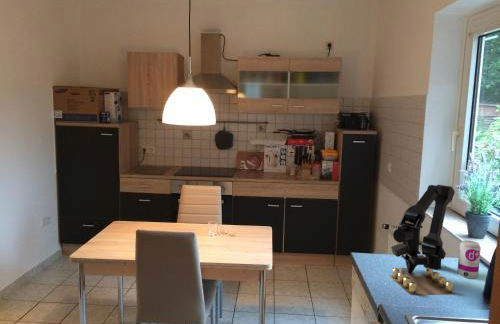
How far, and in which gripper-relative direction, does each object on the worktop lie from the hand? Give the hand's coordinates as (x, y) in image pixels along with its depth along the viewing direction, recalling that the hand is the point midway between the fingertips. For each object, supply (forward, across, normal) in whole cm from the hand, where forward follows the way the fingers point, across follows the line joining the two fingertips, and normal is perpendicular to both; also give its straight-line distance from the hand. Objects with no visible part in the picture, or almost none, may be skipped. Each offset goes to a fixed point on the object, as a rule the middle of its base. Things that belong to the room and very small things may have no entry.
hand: (409, 273), depth 179 cm
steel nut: (+1, -4, 0) cm, 4 cm away
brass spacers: (+1, +9, 0) cm, 9 cm away
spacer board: (+2, +9, 0) cm, 9 cm away
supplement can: (+2, -2, +28) cm, 28 cm away
